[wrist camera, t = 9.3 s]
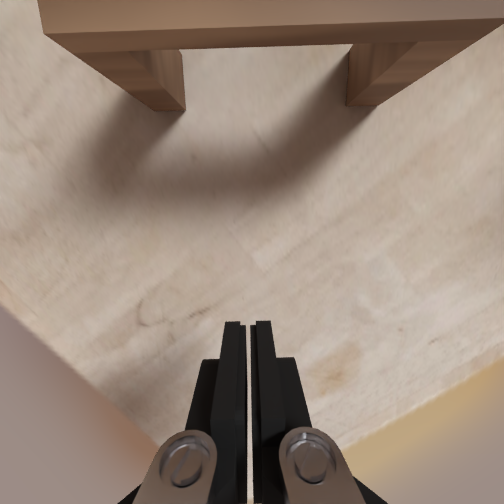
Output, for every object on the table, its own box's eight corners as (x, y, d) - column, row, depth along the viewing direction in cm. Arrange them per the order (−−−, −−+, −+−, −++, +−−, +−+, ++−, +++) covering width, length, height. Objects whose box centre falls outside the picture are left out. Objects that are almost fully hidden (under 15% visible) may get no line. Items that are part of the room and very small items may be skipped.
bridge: (378, 105, 16) (513, 17, 7) (154, 110, 16) (43, 33, 8) (384, 48, 15) (541, -121, 7) (148, 56, 16) (19, -95, 7)
